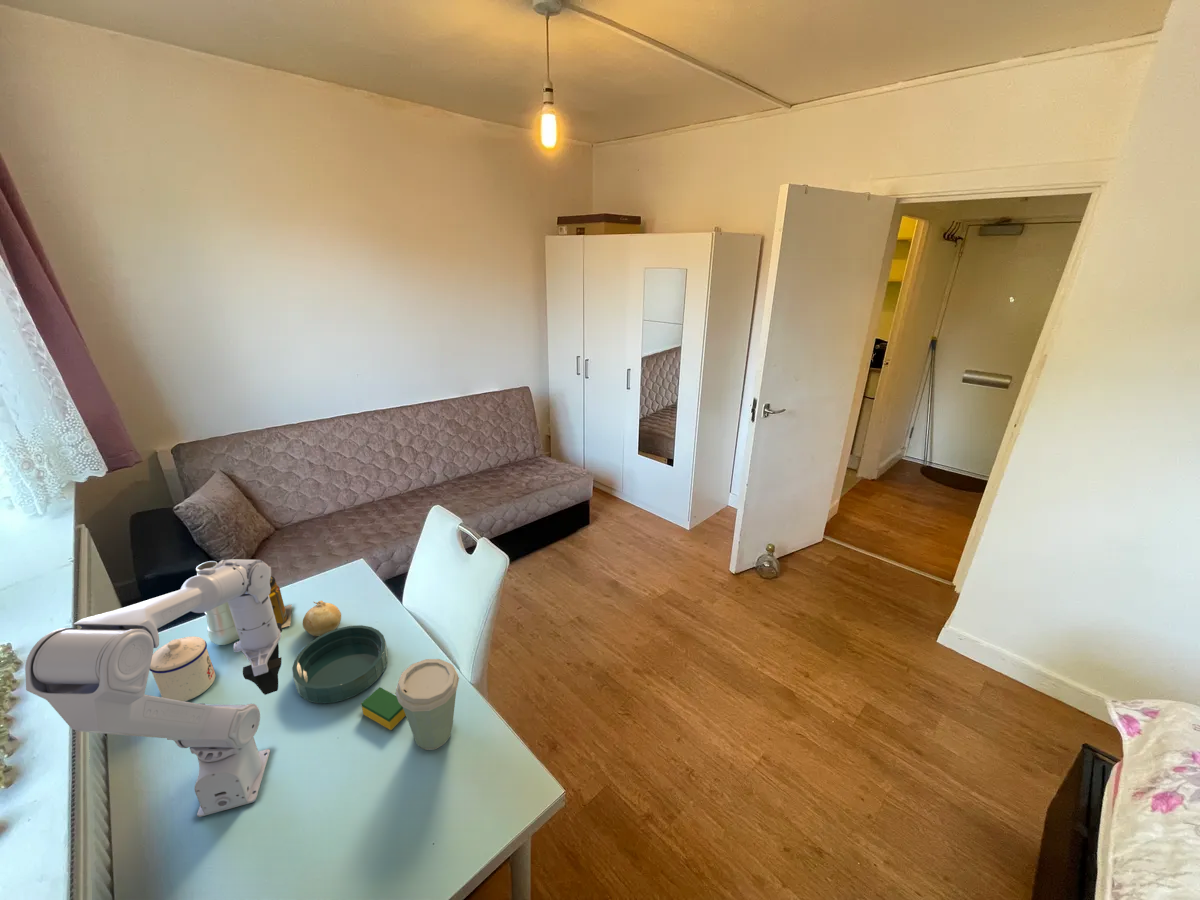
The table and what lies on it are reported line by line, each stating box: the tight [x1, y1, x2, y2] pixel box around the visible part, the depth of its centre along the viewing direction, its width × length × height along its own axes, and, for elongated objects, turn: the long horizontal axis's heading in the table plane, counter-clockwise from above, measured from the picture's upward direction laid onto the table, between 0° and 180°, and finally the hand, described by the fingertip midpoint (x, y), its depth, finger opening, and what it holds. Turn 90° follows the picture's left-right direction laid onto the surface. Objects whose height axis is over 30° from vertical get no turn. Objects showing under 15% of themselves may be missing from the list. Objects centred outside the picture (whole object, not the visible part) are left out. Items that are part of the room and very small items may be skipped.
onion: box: [302, 600, 342, 638], centre depth 115 cm, size 8×8×7 cm
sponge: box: [360, 686, 406, 731], centre depth 95 cm, size 8×4×3 cm, turn 64°
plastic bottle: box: [195, 560, 240, 646], centre depth 109 cm, size 6×7×20 cm
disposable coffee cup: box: [394, 658, 460, 751], centre depth 89 cm, size 11×11×15 cm
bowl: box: [291, 624, 389, 704], centre depth 104 cm, size 18×18×4 cm
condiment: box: [269, 575, 293, 629], centre depth 116 cm, size 7×8×12 cm
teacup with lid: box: [149, 635, 216, 702], centre depth 99 cm, size 12×9×12 cm
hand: (271, 676), depth 91 cm, fingers open, 7 cm apart
